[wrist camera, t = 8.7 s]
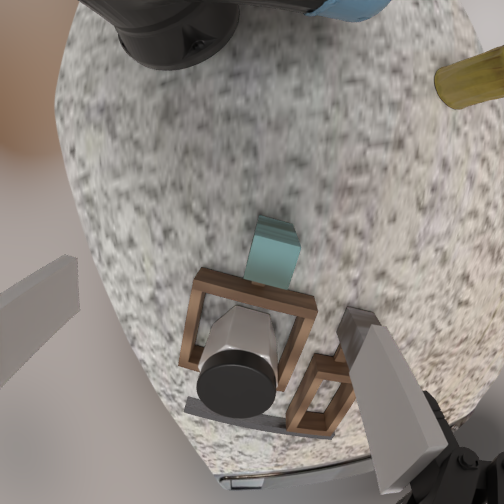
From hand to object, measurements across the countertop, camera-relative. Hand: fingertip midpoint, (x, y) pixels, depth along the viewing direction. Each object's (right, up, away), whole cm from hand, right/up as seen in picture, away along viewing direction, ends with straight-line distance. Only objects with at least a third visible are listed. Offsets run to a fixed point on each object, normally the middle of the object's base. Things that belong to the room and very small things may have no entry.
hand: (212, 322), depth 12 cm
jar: (+1, -8, +27) cm, 29 cm away
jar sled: (+2, -3, +26) cm, 26 cm away
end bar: (+3, -24, +32) cm, 40 cm away
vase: (+28, +24, +16) cm, 40 cm away
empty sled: (+13, -14, +28) cm, 34 cm away
